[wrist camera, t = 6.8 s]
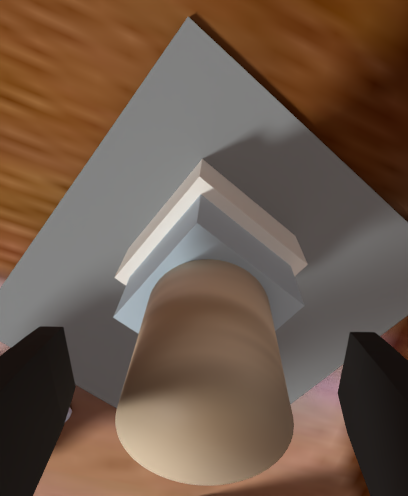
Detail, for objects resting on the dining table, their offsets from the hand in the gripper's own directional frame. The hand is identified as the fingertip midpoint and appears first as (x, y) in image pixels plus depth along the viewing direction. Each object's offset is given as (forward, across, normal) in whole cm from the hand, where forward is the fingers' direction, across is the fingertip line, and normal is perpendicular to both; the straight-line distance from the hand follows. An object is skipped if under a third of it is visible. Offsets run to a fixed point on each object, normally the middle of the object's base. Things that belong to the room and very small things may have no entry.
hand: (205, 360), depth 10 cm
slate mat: (+10, 0, +5) cm, 12 cm away
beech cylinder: (+4, 0, +2) cm, 4 cm away
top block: (+7, 0, +1) cm, 7 cm away
